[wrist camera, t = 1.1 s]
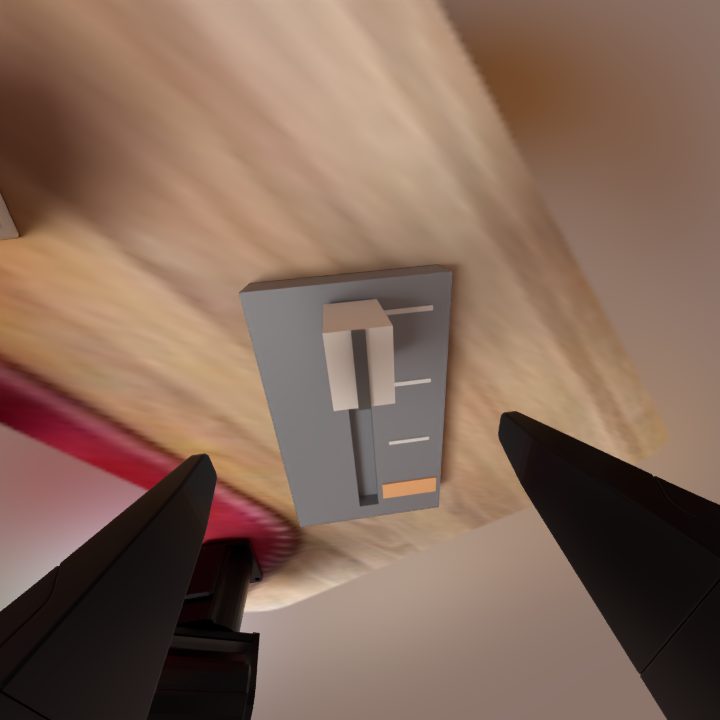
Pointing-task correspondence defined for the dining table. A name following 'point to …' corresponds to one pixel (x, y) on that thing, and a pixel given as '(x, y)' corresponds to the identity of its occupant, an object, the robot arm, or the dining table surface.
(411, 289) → the console
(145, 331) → the dining table surface
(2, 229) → the small box
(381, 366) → the fader knob
